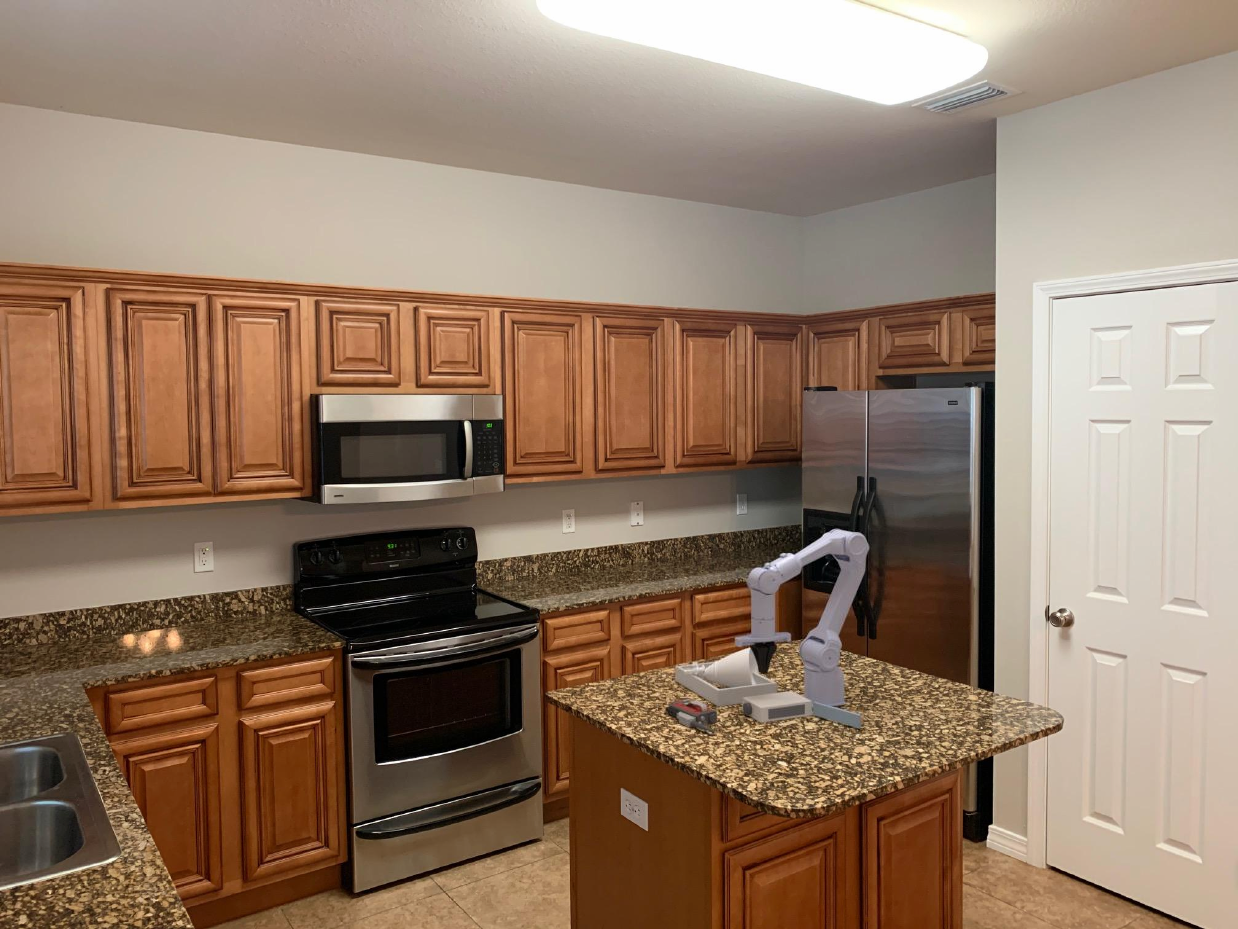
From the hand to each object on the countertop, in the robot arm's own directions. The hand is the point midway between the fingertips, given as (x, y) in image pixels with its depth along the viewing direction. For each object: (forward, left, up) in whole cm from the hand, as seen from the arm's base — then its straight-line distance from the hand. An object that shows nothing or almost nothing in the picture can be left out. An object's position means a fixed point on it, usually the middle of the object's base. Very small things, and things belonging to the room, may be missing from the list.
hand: (763, 673), depth 228 cm
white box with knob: (-2, +3, -9) cm, 10 cm away
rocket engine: (0, -20, -9) cm, 22 cm away
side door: (-12, +14, -9) cm, 21 cm away
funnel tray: (0, -20, -9) cm, 22 cm away
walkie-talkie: (+18, +1, -10) cm, 21 cm away
